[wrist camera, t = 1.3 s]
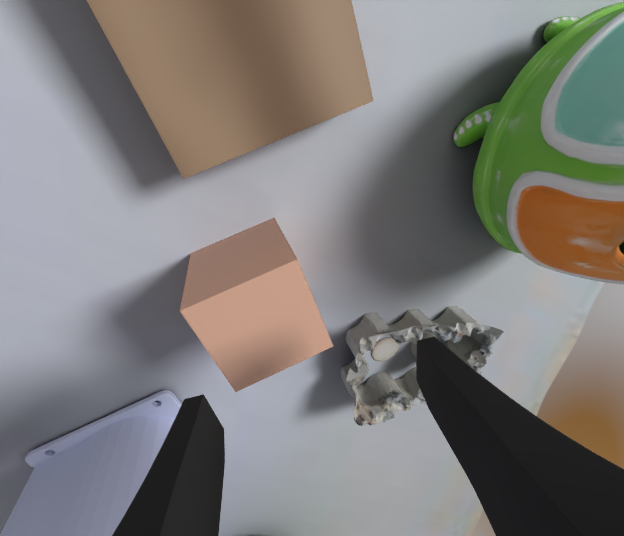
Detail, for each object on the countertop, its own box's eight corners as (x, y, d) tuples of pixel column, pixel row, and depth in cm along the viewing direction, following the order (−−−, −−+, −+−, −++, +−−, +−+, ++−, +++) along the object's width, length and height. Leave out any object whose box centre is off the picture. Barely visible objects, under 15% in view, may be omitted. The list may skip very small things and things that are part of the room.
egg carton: (331, 386, 25) (350, 431, 22) (348, 303, 22) (373, 339, 19) (446, 375, 28) (479, 413, 25) (474, 301, 25) (516, 331, 22)
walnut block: (188, 168, 16) (183, 179, 14) (66, -64, 12) (24, -114, 9) (349, 102, 17) (373, 100, 14) (287, -140, 13) (306, -205, 10)
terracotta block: (230, 320, 20) (235, 392, 15) (190, 253, 18) (179, 310, 13) (303, 287, 21) (333, 346, 15) (274, 217, 18) (297, 259, 13)
